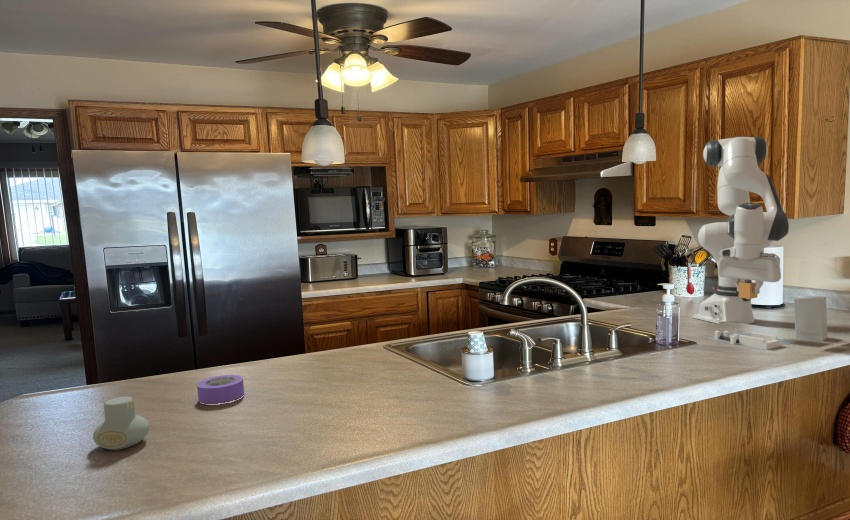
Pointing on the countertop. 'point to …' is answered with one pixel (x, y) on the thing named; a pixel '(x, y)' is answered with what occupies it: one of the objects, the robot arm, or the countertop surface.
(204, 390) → the tape roll
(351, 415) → the countertop surface
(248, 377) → the countertop surface
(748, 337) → the board
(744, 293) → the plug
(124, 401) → the air freshener
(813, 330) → the skincare box
